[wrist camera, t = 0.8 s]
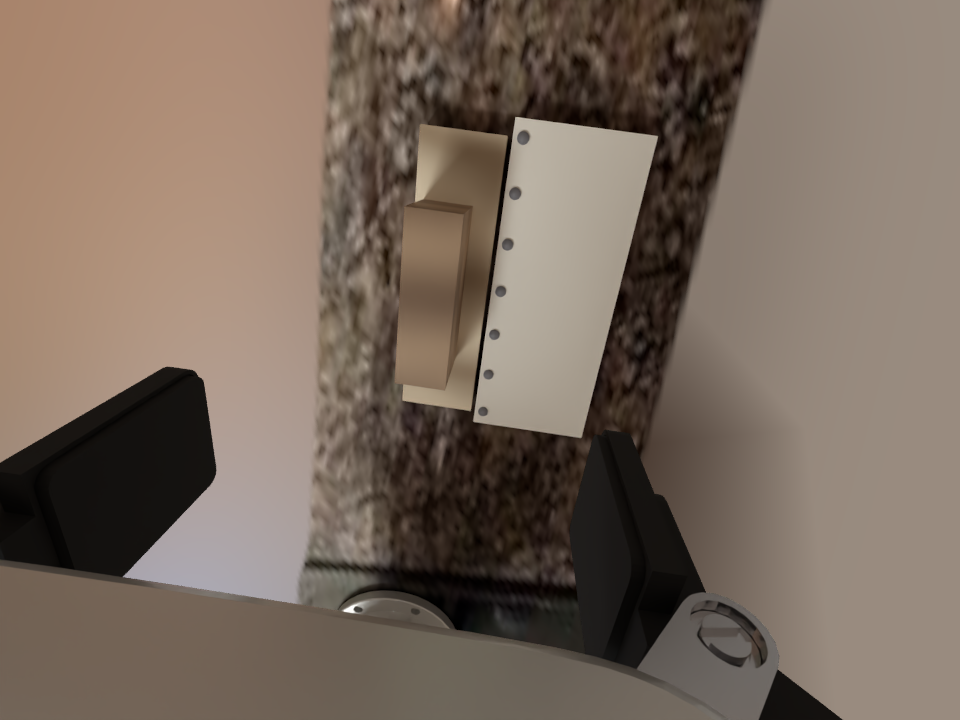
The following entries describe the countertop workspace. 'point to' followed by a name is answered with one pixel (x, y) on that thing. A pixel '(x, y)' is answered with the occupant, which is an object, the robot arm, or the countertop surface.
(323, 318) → the countertop surface
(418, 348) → the stub
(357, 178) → the countertop surface
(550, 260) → the board
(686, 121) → the countertop surface
